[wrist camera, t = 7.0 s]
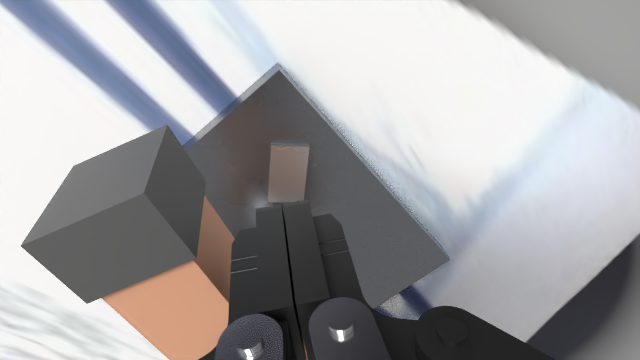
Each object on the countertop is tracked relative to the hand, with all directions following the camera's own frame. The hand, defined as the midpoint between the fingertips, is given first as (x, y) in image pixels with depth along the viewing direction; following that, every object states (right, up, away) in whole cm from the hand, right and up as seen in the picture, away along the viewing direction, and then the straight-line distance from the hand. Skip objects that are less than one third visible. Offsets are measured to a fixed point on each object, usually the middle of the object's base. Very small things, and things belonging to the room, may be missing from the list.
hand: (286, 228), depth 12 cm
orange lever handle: (-2, -3, +4) cm, 5 cm away
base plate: (-1, -2, +12) cm, 13 cm away
